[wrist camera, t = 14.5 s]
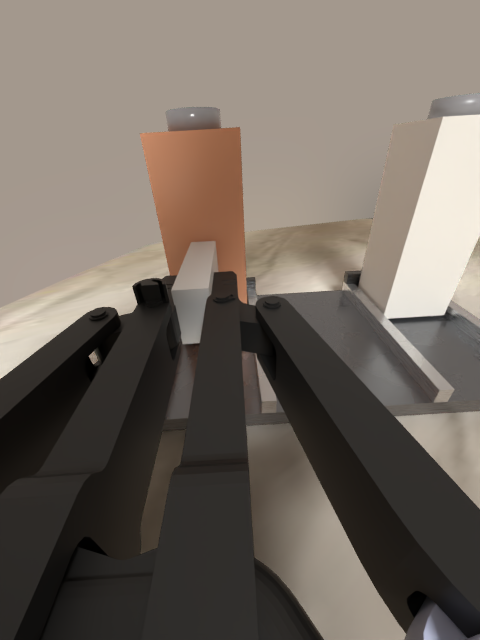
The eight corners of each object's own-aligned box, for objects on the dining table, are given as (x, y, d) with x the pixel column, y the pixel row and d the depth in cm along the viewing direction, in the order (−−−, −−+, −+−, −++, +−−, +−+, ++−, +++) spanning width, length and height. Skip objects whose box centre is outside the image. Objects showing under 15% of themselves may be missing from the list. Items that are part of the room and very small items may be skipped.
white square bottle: (408, 287, 25) (471, 101, 18) (444, 315, 21) (546, 86, 13) (357, 291, 25) (397, 106, 18) (382, 318, 21) (450, 92, 13)
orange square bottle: (245, 304, 24) (236, 113, 17) (248, 336, 20) (238, 101, 12) (191, 307, 24) (158, 118, 17) (183, 340, 20) (134, 107, 12)
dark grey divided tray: (423, 293, 27) (433, 266, 25) (574, 404, 15) (612, 366, 13) (172, 309, 27) (165, 282, 25) (127, 433, 15) (110, 398, 13)
